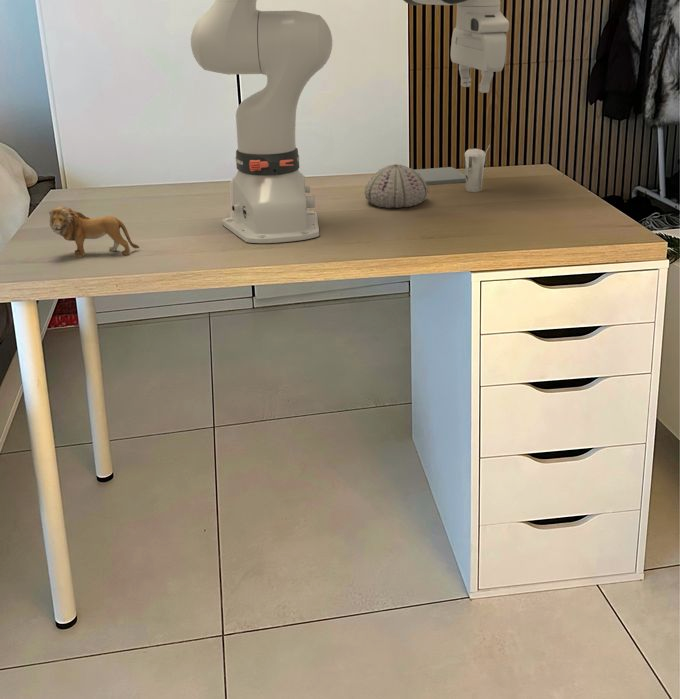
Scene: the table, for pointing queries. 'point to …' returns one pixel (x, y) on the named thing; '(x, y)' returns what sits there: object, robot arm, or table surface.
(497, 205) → the table surface
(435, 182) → the pad
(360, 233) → the table surface
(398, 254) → the table surface
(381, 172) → the sea urchin shell
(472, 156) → the milkshake
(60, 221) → the lion figurine
